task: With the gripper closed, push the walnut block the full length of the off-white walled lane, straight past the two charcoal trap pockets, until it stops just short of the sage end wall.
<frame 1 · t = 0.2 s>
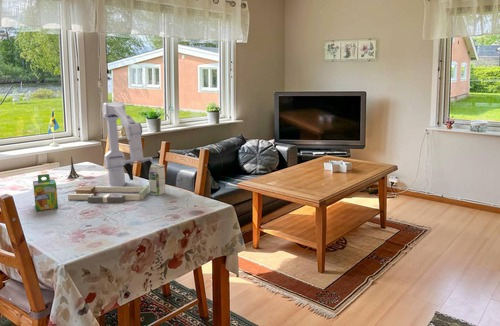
hand: (139, 178, 206), 10 cm above the table, tool pointing down, fingers open, 7 cm apart
trap lane: (110, 195, 215), on the table
eiffel tower figurine: (74, 178, 249), on the table
walnut block: (86, 195, 216), on the table
syrup box: (157, 193, 219), on the table
chalk box: (46, 207, 198), on the table
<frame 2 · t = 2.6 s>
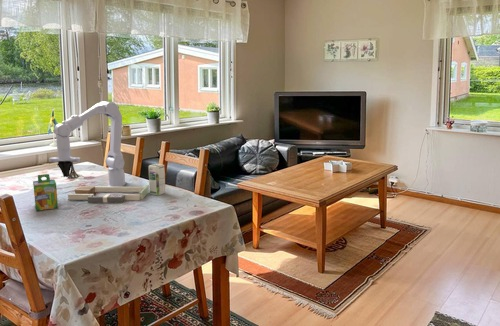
hand: (66, 176, 214), 9 cm above the table, tool pointing down, fingers closed
nothing on the table moved.
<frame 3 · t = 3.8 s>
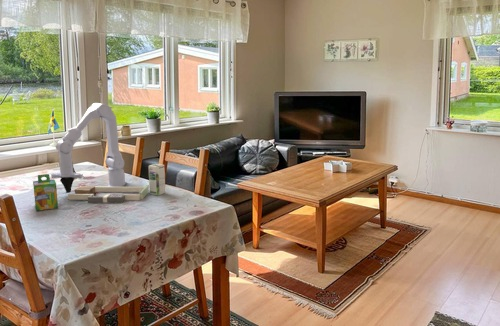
hand: (68, 192, 216), 1 cm above the table, tool pointing down, fingers closed
nothing on the table moved.
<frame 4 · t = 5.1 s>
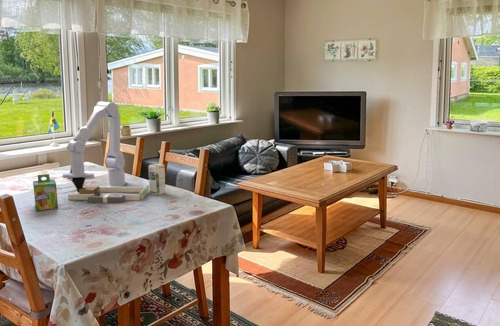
hand: (80, 192, 215), 1 cm above the table, tool pointing down, fingers closed
walnut block: (90, 195, 215), on the table, touching gripper
everything else where it was.
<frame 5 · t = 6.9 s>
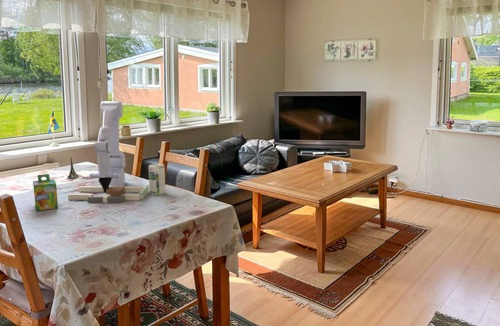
hand: (106, 192, 215), 2 cm above the table, tool pointing down, fingers closed
walnut block: (116, 195, 215), on the table, touching gripper
everything else where it was.
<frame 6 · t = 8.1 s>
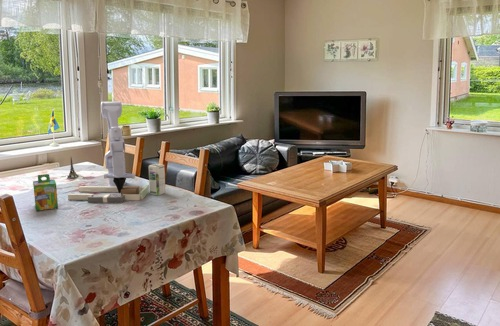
hand: (120, 192, 215), 2 cm above the table, tool pointing down, fingers closed
walnut block: (130, 195, 215), on the table, touching gripper
everything else where it was.
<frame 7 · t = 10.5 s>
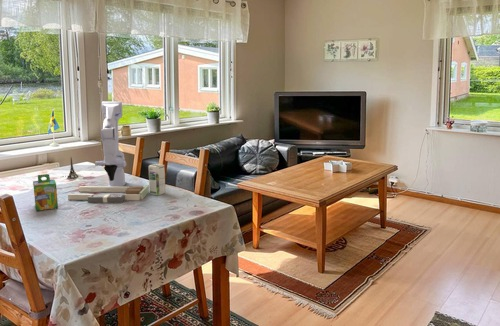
hand: (111, 180, 214), 8 cm above the table, tool pointing down, fingers closed
walnut block: (135, 196, 215), on the table
everything else where it was.
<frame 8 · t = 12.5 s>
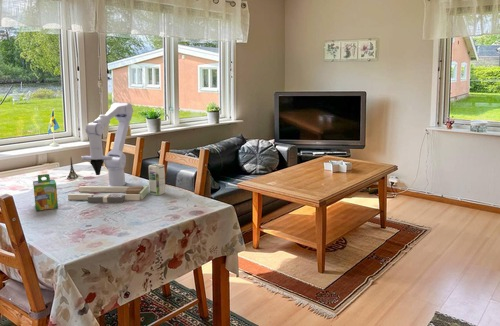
hand: (98, 174, 217), 9 cm above the table, tool pointing down, fingers closed
nothing on the table moved.
at the end: walnut block 0.4 cm from the target spot on the trap lane, point 0.0 cm above the trap lane's base; walnut block tilted 0°; walnut block moved 23.9 cm from its start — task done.
